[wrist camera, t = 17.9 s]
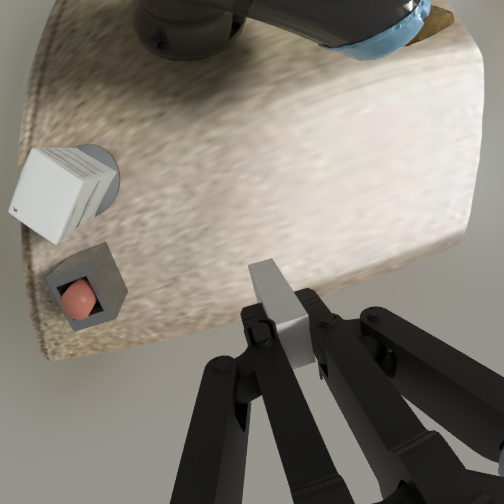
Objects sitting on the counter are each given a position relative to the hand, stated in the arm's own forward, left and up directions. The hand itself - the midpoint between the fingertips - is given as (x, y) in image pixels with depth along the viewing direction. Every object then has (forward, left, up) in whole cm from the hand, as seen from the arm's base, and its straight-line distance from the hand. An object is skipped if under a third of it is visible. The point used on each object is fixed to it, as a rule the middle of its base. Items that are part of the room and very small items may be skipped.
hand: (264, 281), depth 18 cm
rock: (-23, +37, -24) cm, 50 cm away
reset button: (+3, -21, -21) cm, 30 cm away
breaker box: (+3, -21, -24) cm, 32 cm away
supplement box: (-10, -17, -23) cm, 30 cm away
